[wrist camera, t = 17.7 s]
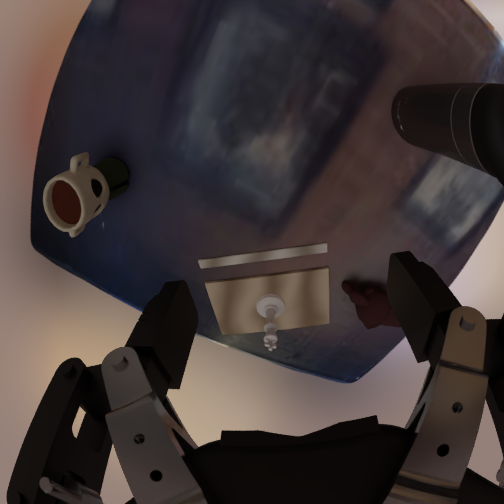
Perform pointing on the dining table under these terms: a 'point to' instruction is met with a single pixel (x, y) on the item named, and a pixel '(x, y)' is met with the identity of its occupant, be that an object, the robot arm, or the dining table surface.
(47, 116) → the dining table surface
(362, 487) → the robot arm
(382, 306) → the dark brown lumpy figurine
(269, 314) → the chess piece
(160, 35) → the dining table surface
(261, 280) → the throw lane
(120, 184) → the character mug
